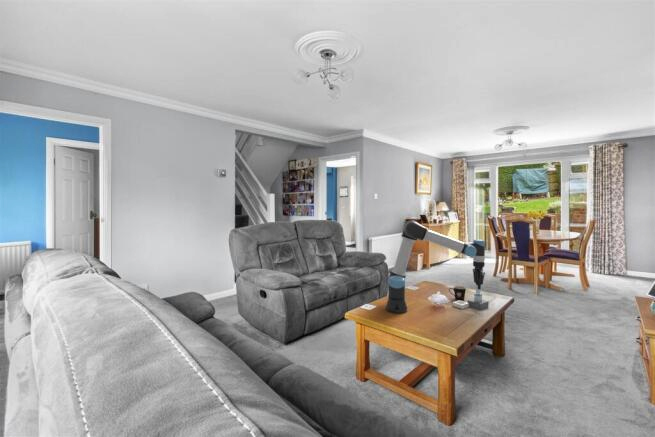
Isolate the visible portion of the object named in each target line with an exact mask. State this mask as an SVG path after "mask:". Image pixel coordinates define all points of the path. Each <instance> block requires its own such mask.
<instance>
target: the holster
mask: <svg viewBox="0 0 655 437" xmlns="http://www.w3.org/2000/svg"><path fill="white" fill-rule="evenodd" d="M452 307H454V308H458V309H461V310H464V309H466V308H467V309H468V308H469V307H470V306H469V303H468V301H465V300H456V301H453V302H452Z"/></svg>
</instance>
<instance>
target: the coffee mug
mask: <svg viewBox="0 0 655 437" xmlns="http://www.w3.org/2000/svg"><path fill="white" fill-rule="evenodd" d="M466 289H467V288H466V287H465V286H462V285H454V286H453V287H450V288H449V289H448V293H450V294H451V295H453V296H454V300H456V301H458V300H460V301H465V296H466ZM451 290H453V291H454V292H453V293H454V294H453V293H452V292H451Z"/></svg>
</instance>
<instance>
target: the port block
mask: <svg viewBox="0 0 655 437" xmlns="http://www.w3.org/2000/svg"><path fill="white" fill-rule="evenodd" d="M467 303H469V307H470V308H474V309H477V310H484V309H486V308H489V300H485V299H482V301H481V302H477V301H474V297H473V298H470V299H468V300H467Z"/></svg>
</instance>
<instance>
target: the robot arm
mask: <svg viewBox="0 0 655 437" xmlns="http://www.w3.org/2000/svg"><path fill="white" fill-rule="evenodd" d="M402 227H403V229H402V230H403V231H402V233H401V238H402V240H401V244H400V247H399V251H398V253H397V256H396V260H395V264H394V267H393V269H391V270H390V273H389V275H388V277H387V288H388V289H387V290H388V291H387V292H388V295H387V296H388V298H387V302H386V304H385V310H386V311H387V312H389V313H392V314H406V313H407V312H408V306H407V302H406V276H407V274H406V271H407V266H408V264H409V260H410V256H411V254H412V250H413V249H414V244H415V243H416V242H417V241H418V240H419V241H421V242H423V241H426V242H429V243H432V244H435V245H437V246H440V247H444V248H446V249H449V250H452V251H454V252H456V253H460V254H462V255H464V256H466V257H469V258H472V260H473V261H472V266H473V267H474V268H472V273H473V274H472V275H473V283H475V293H477V294H482V293H481V289H482V288H481V286H482V285H483V284H484V279H485V275H486V272H484V267H485V264H486V263H485V258H486V257H485V256H486V255H485V253H486V242H485V240H483V239H473V242H470V241H469V242H466V241H465V242H463V241H460V240H457V239H455V238H452V237H449V236H446V235H444V234H440V233H438V232H436V231H434V230H430V229H429V228H428V227H425V226H424V225H421V223H419V222H417V221H415V220H408V221H406V222H404V224H403V226H402Z"/></svg>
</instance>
